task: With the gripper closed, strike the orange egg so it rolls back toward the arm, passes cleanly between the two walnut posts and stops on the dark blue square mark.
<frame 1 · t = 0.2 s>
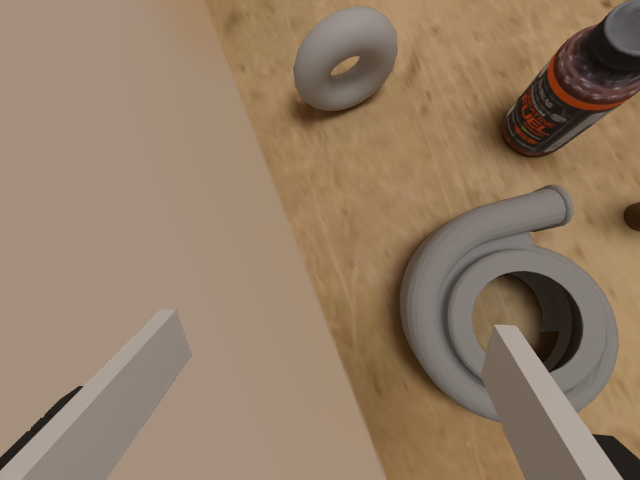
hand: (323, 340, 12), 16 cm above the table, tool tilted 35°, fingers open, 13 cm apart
supplement bottle: (531, 131, 28), on the table
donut: (348, 102, 31), on the table
turbocharger housing: (480, 305, 26), on the table
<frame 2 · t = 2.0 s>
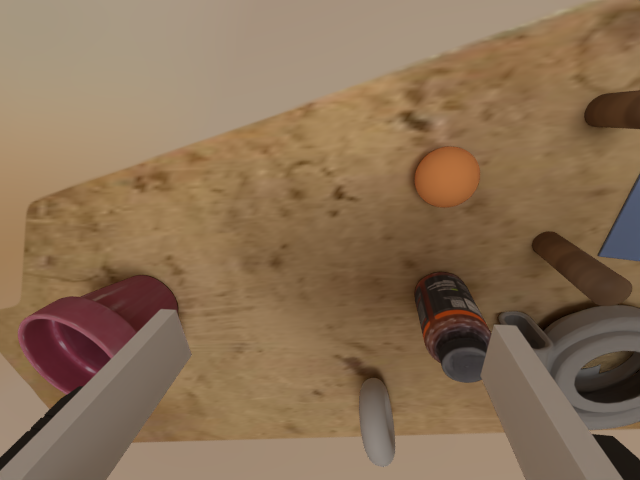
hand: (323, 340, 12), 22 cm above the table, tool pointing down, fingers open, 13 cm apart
supplement bottle: (439, 290, 34), on the table
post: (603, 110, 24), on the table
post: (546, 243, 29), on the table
orange egg: (446, 177, 26), on the table
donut: (377, 385, 42), on the table
turbocharger housing: (570, 347, 34), on the table
plant pot: (152, 299, 44), on the table
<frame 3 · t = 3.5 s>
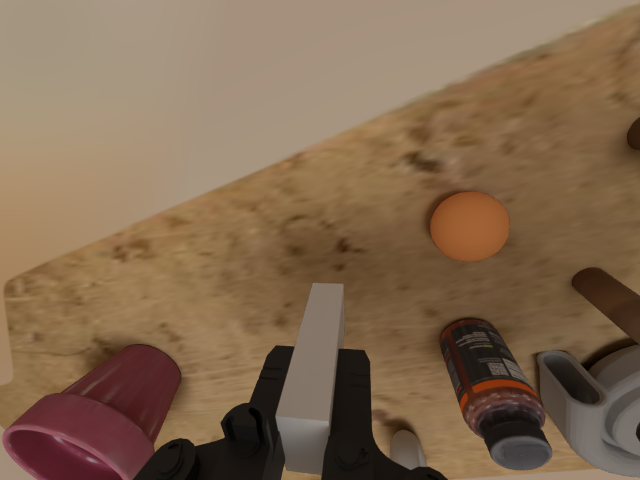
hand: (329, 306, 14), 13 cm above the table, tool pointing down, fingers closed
supplement bottle: (467, 336, 30), on the table
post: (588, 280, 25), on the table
orange egg: (467, 226, 22), on the table
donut: (407, 434, 39), on the table
turbocharger housing: (620, 381, 30), on the table
plant pot: (152, 366, 40), on the table
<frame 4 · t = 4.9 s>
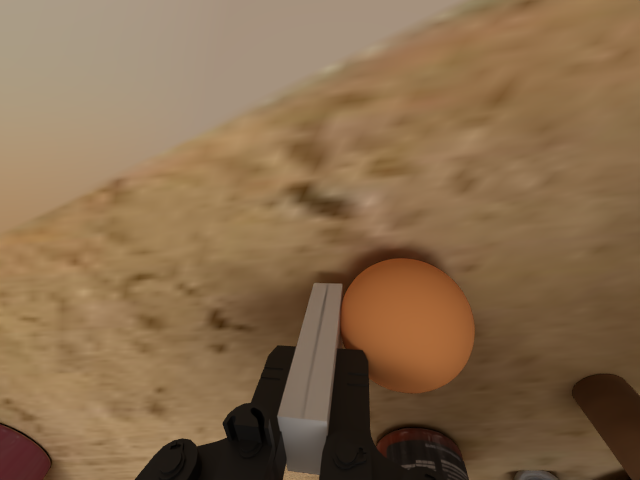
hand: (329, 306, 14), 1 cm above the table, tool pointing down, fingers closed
supplement bottle: (416, 445, 20), on the table
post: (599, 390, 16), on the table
orange egg: (402, 321, 12), on the table, touching gripper
plant pot: (13, 444, 30), on the table
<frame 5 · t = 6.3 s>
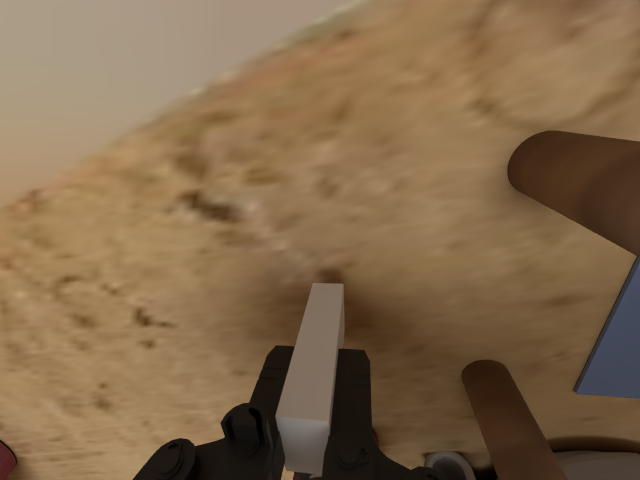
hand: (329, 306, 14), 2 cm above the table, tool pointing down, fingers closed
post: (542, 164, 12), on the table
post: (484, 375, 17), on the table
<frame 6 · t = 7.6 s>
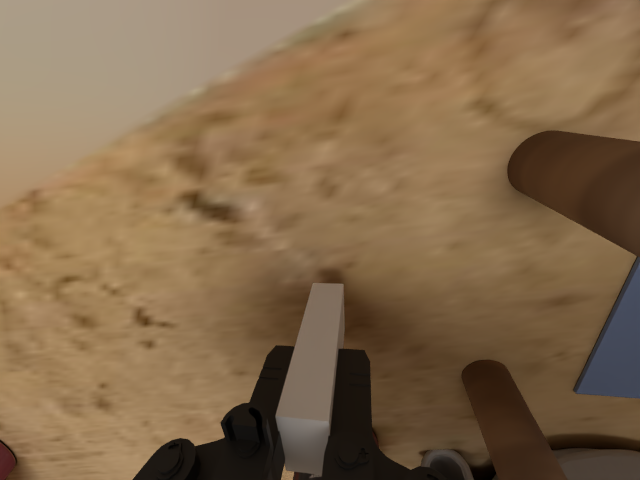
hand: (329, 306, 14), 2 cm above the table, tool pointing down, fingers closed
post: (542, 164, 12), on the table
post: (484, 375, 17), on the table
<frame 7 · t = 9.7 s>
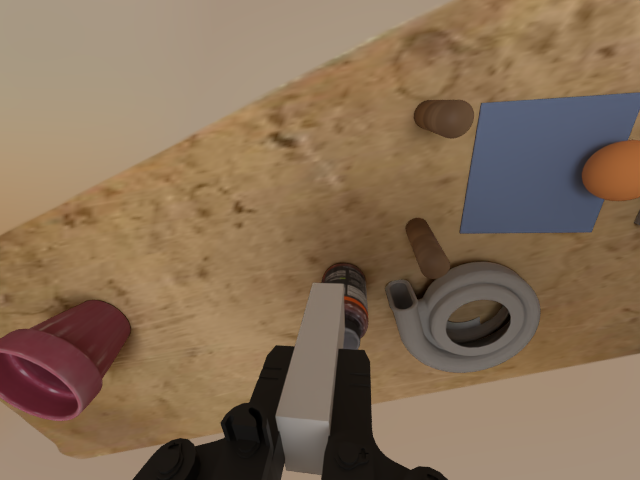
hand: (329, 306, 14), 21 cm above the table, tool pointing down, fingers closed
supplement bottle: (344, 279, 39), on the table
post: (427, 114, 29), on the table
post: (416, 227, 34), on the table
orange egg: (621, 171, 26), on the table
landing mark: (539, 171, 30), on the table
turbocharger housing: (455, 304, 39), on the table
plant pot: (106, 320, 48), on the table
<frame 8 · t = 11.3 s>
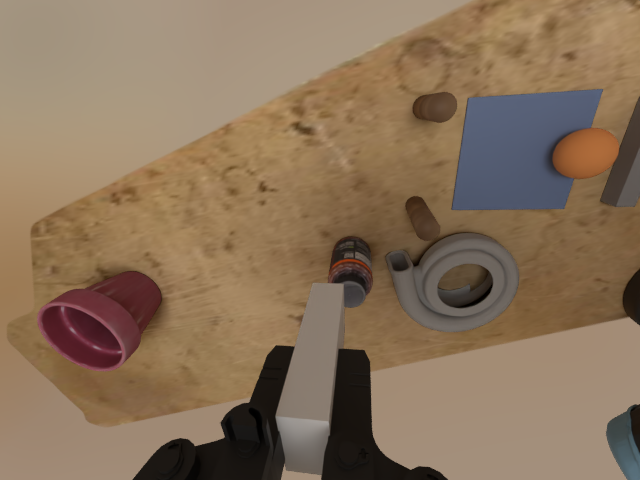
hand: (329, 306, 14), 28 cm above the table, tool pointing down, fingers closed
stopper: (627, 152, 34), on the table
supplement bottle: (351, 251, 45), on the table
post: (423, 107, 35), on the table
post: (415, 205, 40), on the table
orange egg: (583, 154, 32), on the table
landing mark: (518, 156, 35), on the table
turbocharger housing: (447, 273, 44), on the table
plant pot: (140, 290, 55), on the table
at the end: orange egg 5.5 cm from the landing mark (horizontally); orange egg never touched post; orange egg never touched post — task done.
